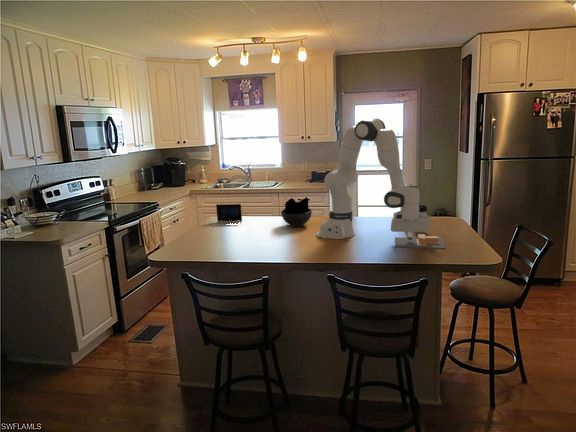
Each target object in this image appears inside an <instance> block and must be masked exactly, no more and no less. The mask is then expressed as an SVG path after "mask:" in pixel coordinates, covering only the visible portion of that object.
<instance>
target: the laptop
mask: <svg viewBox="0 0 576 432" xmlns="http://www.w3.org/2000/svg"><path fill="white" fill-rule="evenodd" d="M216 217H217V222H215V223H213V224H212V225H211V227H232V226H231V225H226V224H230V223H231V224H232V223H233V224H235V223H236V224H238V223H239V222H240V224H242V223H241V222H243V213H242V205H241V203H234V204H232V203H228V204H227V203H226V204H224V203H223V204H222V203H221V204H219V203H218V204H216Z"/></svg>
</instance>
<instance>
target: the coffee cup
mask: <svg viewBox="0 0 576 432" xmlns="http://www.w3.org/2000/svg"><path fill="white" fill-rule="evenodd" d="M427 211H428V208H427V205H425V204H424V205H422V204H421V205H419V215H427Z"/></svg>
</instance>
